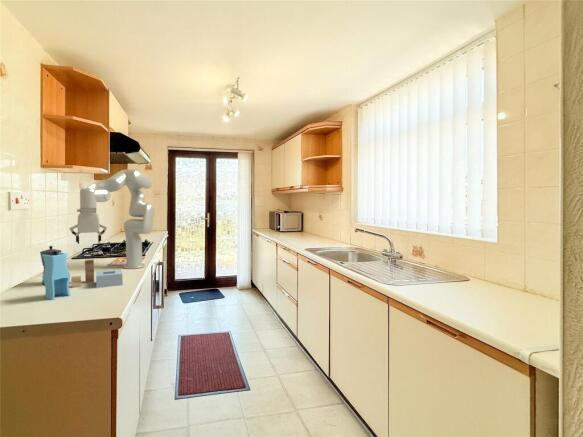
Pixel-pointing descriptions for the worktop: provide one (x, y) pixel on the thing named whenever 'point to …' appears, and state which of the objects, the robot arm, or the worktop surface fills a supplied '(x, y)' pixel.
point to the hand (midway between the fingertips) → (88, 243)
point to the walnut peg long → (89, 271)
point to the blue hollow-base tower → (56, 275)
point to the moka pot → (51, 253)
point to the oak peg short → (76, 281)
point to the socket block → (109, 278)
